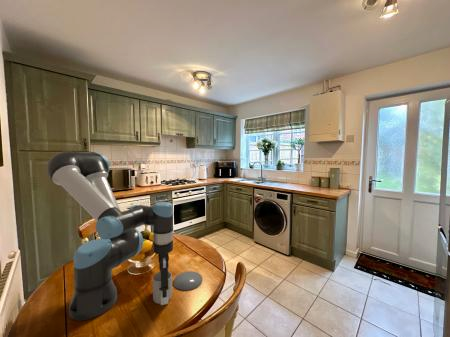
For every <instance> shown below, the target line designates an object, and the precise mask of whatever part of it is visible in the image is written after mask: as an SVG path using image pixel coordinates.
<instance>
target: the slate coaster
mask: <svg viewBox="0 0 450 337" xmlns="http://www.w3.org/2000/svg"><path fill="white" fill-rule="evenodd" d="M202 282H203V276H202V274H201V273H199V272H196V271H193V270H191V271H190V270H189V271H183V272H181V273H179V274H177V275H176V276H175V277H174V278H173V280H172V285H173V286H174V288H175V289H177V290H179V291H192V290H195V289H197V288H198V287H199V286H201V284H202Z"/></svg>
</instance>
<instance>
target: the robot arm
mask: <svg viewBox="0 0 450 337" xmlns="http://www.w3.org/2000/svg"><path fill="white" fill-rule="evenodd" d="M110 167H111V164H110V160H109V159H108V157H107V156H106V155H104V154H103V153H101V152H94V151H68V150H66V151H61V152H57V153H55V154H54V155H53V156H51V158H50V159H49V160H48V162H47V164H46V174H47V176H48V178H49V179H50V180H51V182H53V183H54V184H55V185H57V186H61V187H62V188H63V189H64V190H65V191H66V192H67V193H68V194H69V195H70V196H71V197H72V198H73V199H74V200H75V201H76V202H77V203H78V205H80V206H81V207H82V208H83V209H84V211H86V212H87V213H88V214H89V215H90V217H92V218H93V219H94V220H95V221H96V223H95V232H96V233H97V236H98V237H99V238H96V239H92V240H89V241H87V242H85V243H82V245H80V246H78V248H77V249H76V250H75V252H74V255H73V263H72V265H73V273H74V274H73V277H74V279H73V280H74V281H73V282H74V291H73V294H72V296H71V300H70V303H69V306H68V317H69V318H70V319H72V320H73V321H88V320H91V319H94V318H96V317H98V316H101V315H102V314H104V313H106V312H107V311H109V310H110V309H111V308H112V307H113V306H114V305H115V304H116V302H117V300H118V291H117V287H116V286H115V284H114V281H113V278H112V277H113V276H112V273H113V269H115V268H116V267H119V266H121V265H122V264H123V263H125V262H127V261H128V260H130V259H131V260H132V259H133V258H134V257H135V256H136V255H138V254H139V253H140V252H142V249H143V246H144V238H143V234H142V232H141V231H140V230H138V229H136V228H140V227H142V226H152V227H153V228H152V229H153V233H152V234H153V239H152V240H153V253H154V254H156V255H158V256H157V257H158V263H159V264H158V265H159V266H158V267H159V268H158V269H159V272H161V288H159V290H161V304H160V306H164V305H169V301H168V288H169V287H168V271H169V262H170V257H169V253H171V252H172V251H173V250H174V241H173V239H174V236H173V235H175V231H174V228H173V227H174V226H173V225H174V223H173V222H174V209H173V203H171V202H168V201H161V202H155V203H154V204H153V206H149V205H144V204H143V205H142V204H138V205H137V204H135V205H132V206H131V207H130V208H129V209H128V210H124V211H122V210H121V208H120V207H119V204H118V201H117V200H116V197H115V195H114V193H113V191H112V188H111V185H110V183H109V181H108V177H109V172H110V170H111V168H110Z"/></svg>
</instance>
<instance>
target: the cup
mask: <svg viewBox="0 0 450 337" xmlns="http://www.w3.org/2000/svg"><path fill="white" fill-rule="evenodd" d="M172 274H173V273H172V272H170V271H169V270H168V287H169V288H168V302H169V301H170V300H171V299H172V296H173V275H172ZM159 288H161V272H160V271H159V272H157V273H155V274H154V275H153V276H152V300H153V302H154V303H155V304H158V305H161V290H159Z"/></svg>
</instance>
